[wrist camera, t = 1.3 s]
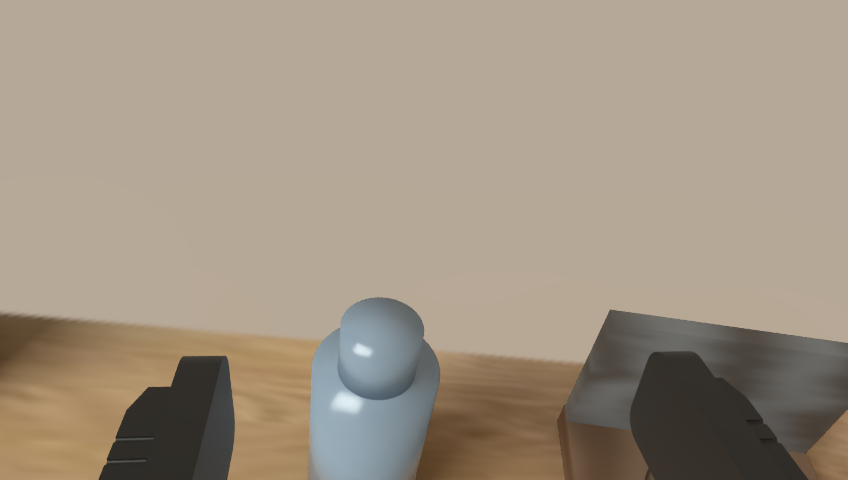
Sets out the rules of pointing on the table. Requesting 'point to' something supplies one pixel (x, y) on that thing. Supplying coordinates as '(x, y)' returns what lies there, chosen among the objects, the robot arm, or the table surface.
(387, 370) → the blue grey bottle
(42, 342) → the table surface
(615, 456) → the display stand
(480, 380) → the table surface
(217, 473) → the robot arm
